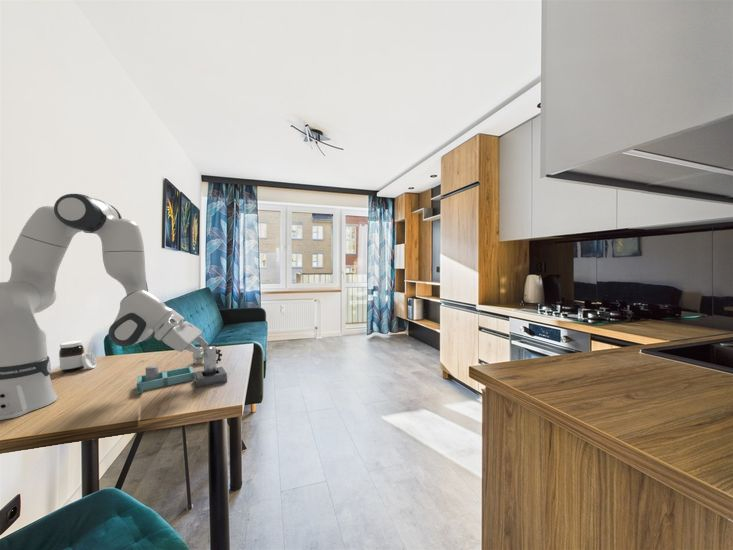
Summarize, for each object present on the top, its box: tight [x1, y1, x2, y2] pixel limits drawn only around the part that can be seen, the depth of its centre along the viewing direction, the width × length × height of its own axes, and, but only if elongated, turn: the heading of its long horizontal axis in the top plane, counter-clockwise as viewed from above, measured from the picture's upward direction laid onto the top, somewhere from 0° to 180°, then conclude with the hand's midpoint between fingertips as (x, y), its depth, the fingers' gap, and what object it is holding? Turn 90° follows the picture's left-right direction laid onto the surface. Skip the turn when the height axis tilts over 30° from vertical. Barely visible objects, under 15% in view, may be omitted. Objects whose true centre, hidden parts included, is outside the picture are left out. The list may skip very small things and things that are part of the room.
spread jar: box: [58, 340, 97, 374], centre depth 131 cm, size 12×11×12 cm
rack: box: [136, 365, 196, 395], centre depth 112 cm, size 17×9×7 cm, turn 124°
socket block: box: [194, 366, 228, 389], centre depth 111 cm, size 9×9×4 cm
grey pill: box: [202, 345, 218, 376], centre depth 111 cm, size 4×4×12 cm
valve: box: [192, 346, 223, 365], centre depth 135 cm, size 7×7×12 cm
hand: (204, 349), depth 110 cm, fingers open, 8 cm apart
